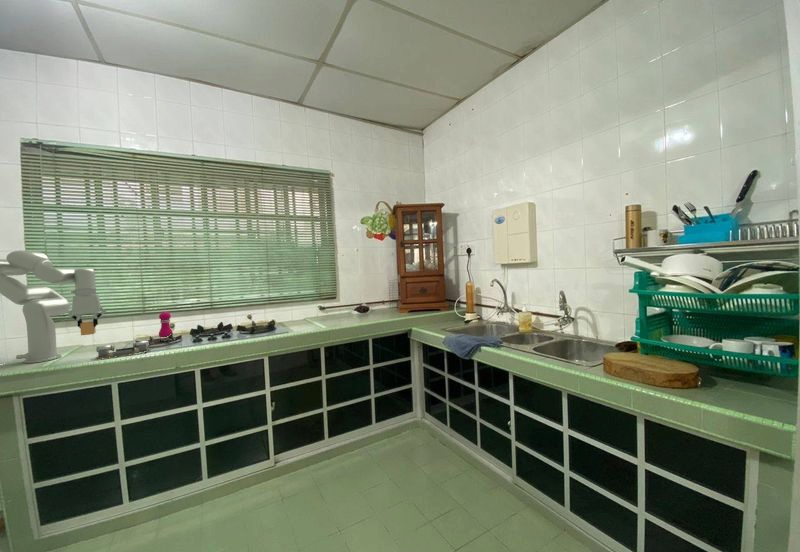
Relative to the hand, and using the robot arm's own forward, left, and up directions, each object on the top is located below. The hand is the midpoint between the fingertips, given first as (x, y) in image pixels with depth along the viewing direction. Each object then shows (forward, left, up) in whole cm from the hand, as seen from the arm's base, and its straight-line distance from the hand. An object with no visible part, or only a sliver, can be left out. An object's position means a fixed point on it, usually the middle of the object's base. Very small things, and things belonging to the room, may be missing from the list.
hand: (88, 326), depth 158 cm
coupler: (0, 0, -4) cm, 4 cm away
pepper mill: (+30, +24, -17) cm, 42 cm away
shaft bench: (+14, -3, -16) cm, 22 cm away
